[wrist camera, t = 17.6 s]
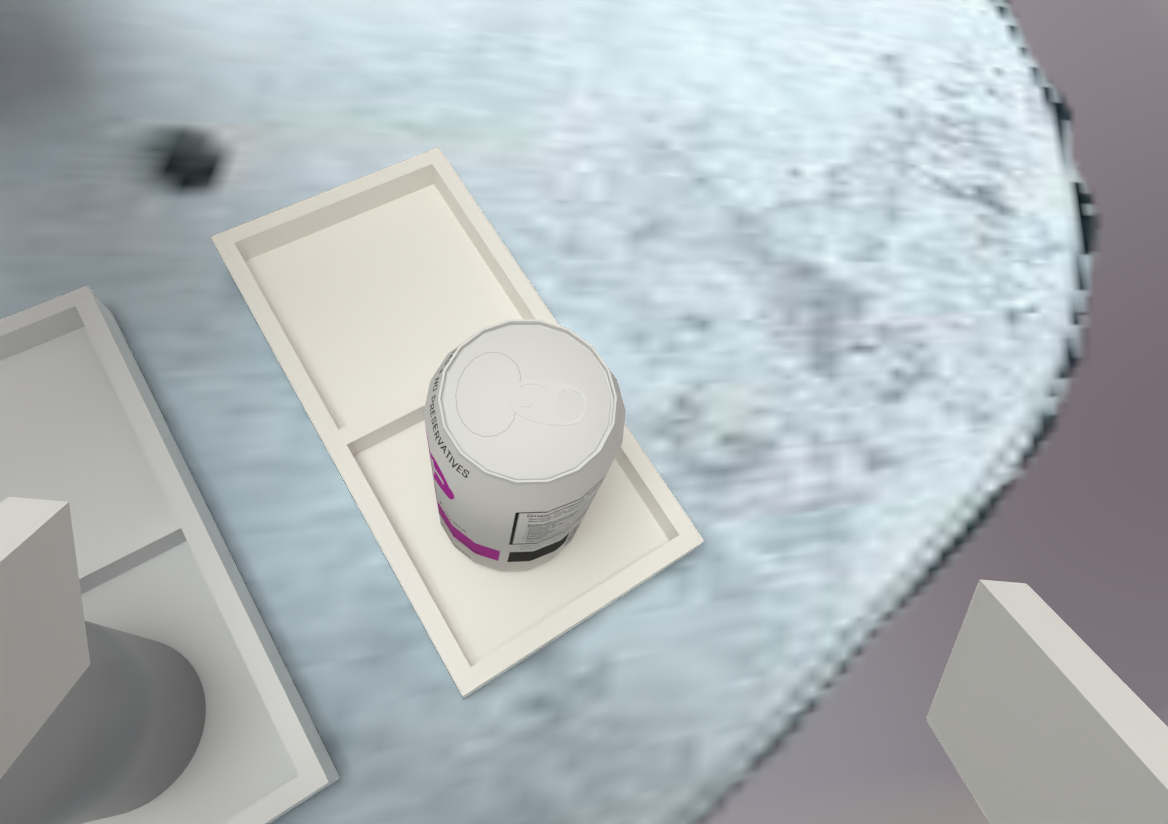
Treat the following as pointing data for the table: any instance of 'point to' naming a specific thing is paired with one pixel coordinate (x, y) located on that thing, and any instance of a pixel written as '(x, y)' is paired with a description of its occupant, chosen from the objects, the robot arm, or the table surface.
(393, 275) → the tray
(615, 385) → the supplement can
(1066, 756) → the robot arm
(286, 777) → the tray
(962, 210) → the table surface
